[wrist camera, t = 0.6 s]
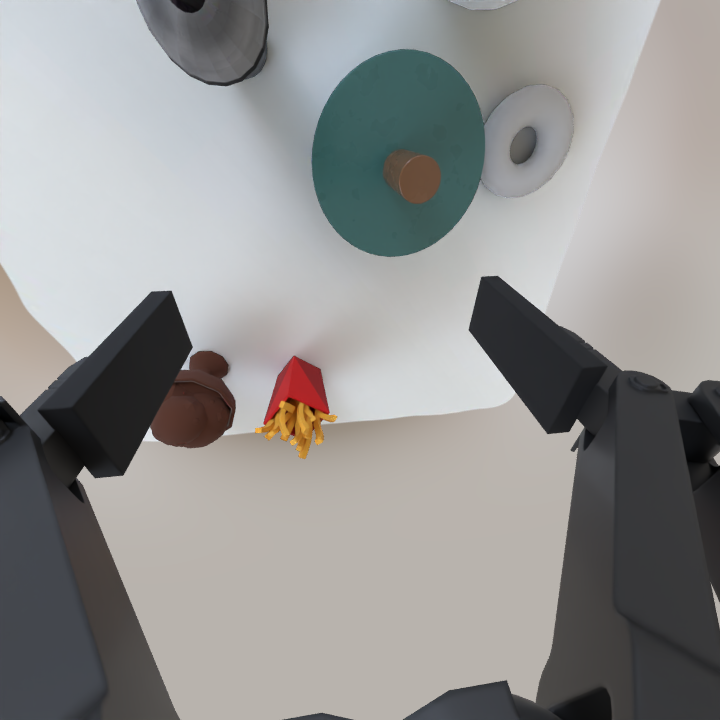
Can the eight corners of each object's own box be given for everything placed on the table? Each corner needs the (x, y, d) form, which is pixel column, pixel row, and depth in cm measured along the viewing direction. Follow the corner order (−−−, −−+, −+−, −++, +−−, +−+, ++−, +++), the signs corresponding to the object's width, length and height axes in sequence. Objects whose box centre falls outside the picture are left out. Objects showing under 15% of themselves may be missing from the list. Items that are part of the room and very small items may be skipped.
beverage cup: (297, 74, 30) (280, 15, 14) (231, 113, 31) (142, 101, 15) (251, -40, 25) (146, -317, 9) (176, 11, 26) (-33, -162, 10)
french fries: (305, 394, 53) (303, 472, 41) (260, 373, 49) (243, 453, 38) (336, 359, 50) (343, 433, 38) (290, 333, 46) (282, 407, 34)
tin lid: (298, 57, 23) (292, 33, 17) (495, 46, 24) (557, 20, 18) (323, 259, 32) (325, 291, 26) (466, 246, 33) (500, 273, 27)
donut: (468, 104, 33) (473, 206, 38) (482, 101, 30) (485, 212, 36) (565, 72, 32) (555, 181, 38) (589, 66, 29) (574, 185, 35)
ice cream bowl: (152, 362, 46) (95, 445, 34) (207, 321, 43) (166, 396, 31) (210, 403, 52) (180, 486, 40) (262, 369, 49) (246, 448, 37)
